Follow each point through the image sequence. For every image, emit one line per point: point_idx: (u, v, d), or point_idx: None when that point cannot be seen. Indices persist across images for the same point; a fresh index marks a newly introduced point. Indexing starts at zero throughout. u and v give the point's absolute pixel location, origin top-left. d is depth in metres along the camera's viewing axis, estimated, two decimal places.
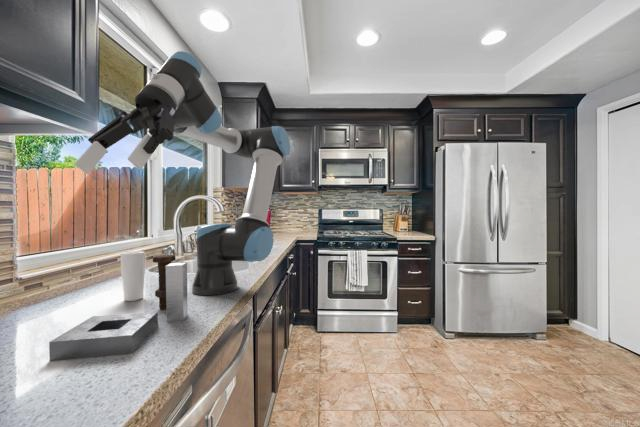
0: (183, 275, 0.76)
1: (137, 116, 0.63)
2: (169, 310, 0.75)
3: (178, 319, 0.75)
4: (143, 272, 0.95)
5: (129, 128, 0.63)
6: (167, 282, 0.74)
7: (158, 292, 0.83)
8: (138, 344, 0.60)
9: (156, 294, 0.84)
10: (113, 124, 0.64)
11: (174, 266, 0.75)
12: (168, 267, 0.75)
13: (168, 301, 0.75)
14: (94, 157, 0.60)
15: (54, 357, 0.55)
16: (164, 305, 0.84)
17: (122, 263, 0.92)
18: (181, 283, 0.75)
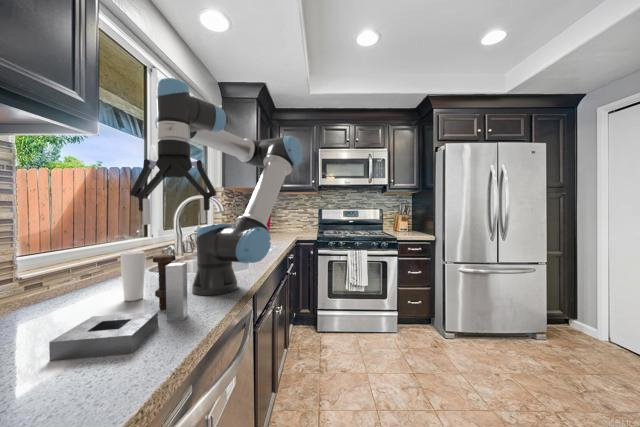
0: (183, 275, 0.76)
1: (170, 170, 0.75)
2: (169, 310, 0.75)
3: (178, 319, 0.75)
4: (143, 272, 0.95)
5: (162, 178, 0.76)
6: (167, 282, 0.74)
7: (158, 292, 0.83)
8: (138, 344, 0.60)
9: (156, 294, 0.84)
10: (145, 175, 0.75)
11: (174, 266, 0.75)
12: (168, 267, 0.75)
13: (168, 301, 0.75)
14: (148, 211, 0.76)
15: (54, 357, 0.55)
16: (164, 305, 0.84)
17: (122, 263, 0.92)
18: (181, 283, 0.75)
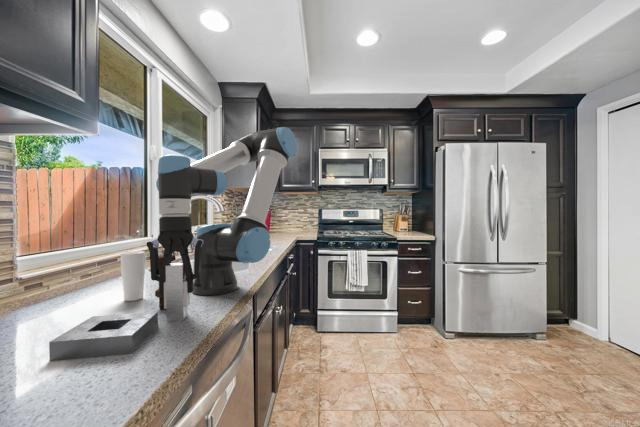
0: (183, 275, 0.76)
1: (172, 245, 0.76)
2: (169, 310, 0.75)
3: (178, 319, 0.75)
4: (143, 272, 0.95)
5: (170, 254, 0.77)
6: (167, 282, 0.74)
7: (158, 292, 0.83)
8: (138, 344, 0.60)
9: (156, 294, 0.84)
10: (155, 256, 0.75)
11: (174, 266, 0.75)
12: (168, 267, 0.75)
13: (168, 301, 0.75)
14: None
15: (54, 357, 0.55)
16: None
17: (122, 263, 0.92)
18: (181, 283, 0.75)
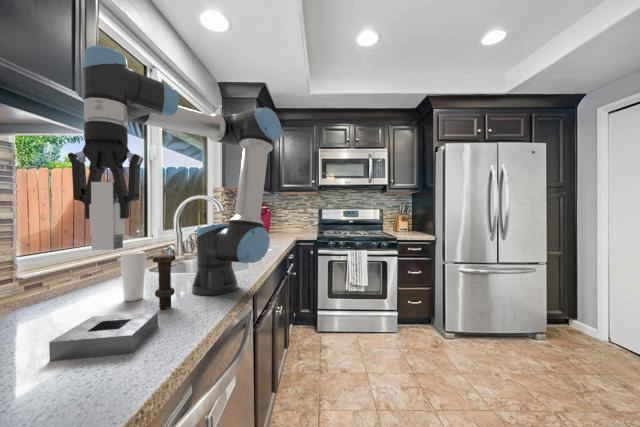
0: (114, 195, 0.62)
1: (100, 159, 0.62)
2: (95, 236, 0.61)
3: (107, 248, 0.61)
4: (143, 272, 0.95)
5: (100, 170, 0.63)
6: (93, 202, 0.61)
7: (158, 292, 0.83)
8: (138, 344, 0.60)
9: (156, 294, 0.84)
10: (79, 172, 0.61)
11: (102, 183, 0.61)
12: (94, 184, 0.61)
13: (94, 225, 0.61)
14: None
15: (54, 357, 0.55)
16: (164, 305, 0.84)
17: (122, 263, 0.92)
18: (111, 204, 0.61)
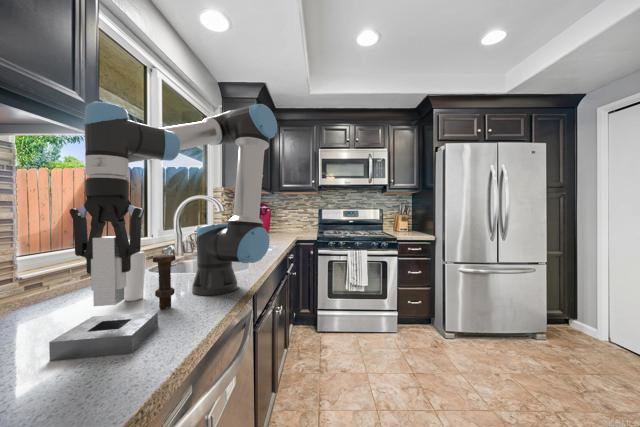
0: (116, 250, 0.62)
1: (102, 214, 0.62)
2: (97, 292, 0.61)
3: (108, 303, 0.61)
4: (143, 272, 0.95)
5: (102, 224, 0.63)
6: (94, 258, 0.61)
7: (158, 292, 0.83)
8: (138, 344, 0.60)
9: (156, 294, 0.84)
10: (81, 227, 0.61)
11: (103, 238, 0.61)
12: (96, 240, 0.61)
13: (96, 281, 0.61)
14: None
15: (54, 357, 0.55)
16: (164, 305, 0.84)
17: None
18: (112, 259, 0.61)
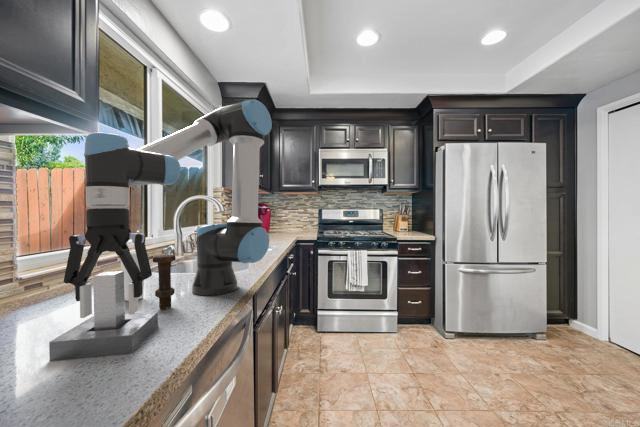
0: (116, 287, 0.62)
1: (102, 244, 0.62)
2: (98, 330, 0.61)
3: None
4: None
5: (98, 253, 0.63)
6: (95, 296, 0.61)
7: (158, 292, 0.83)
8: (138, 344, 0.60)
9: (156, 294, 0.84)
10: (76, 255, 0.61)
11: (104, 276, 0.61)
12: (96, 277, 0.61)
13: (97, 319, 0.61)
14: (88, 299, 0.63)
15: (54, 357, 0.55)
16: (164, 305, 0.84)
17: (122, 263, 0.92)
18: (113, 297, 0.61)
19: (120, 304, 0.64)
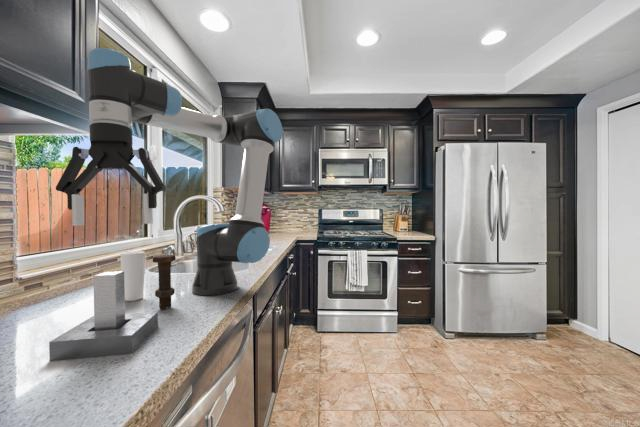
0: (117, 287, 0.62)
1: (106, 160, 0.63)
2: (98, 330, 0.61)
3: None
4: (143, 272, 0.95)
5: (97, 169, 0.64)
6: (95, 296, 0.61)
7: (158, 292, 0.83)
8: (138, 344, 0.60)
9: (156, 294, 0.84)
10: (74, 166, 0.62)
11: (104, 276, 0.61)
12: (97, 277, 0.61)
13: (97, 319, 0.61)
14: (80, 209, 0.63)
15: (54, 357, 0.55)
16: (164, 305, 0.84)
17: (122, 263, 0.92)
18: (113, 297, 0.61)
19: (120, 304, 0.64)
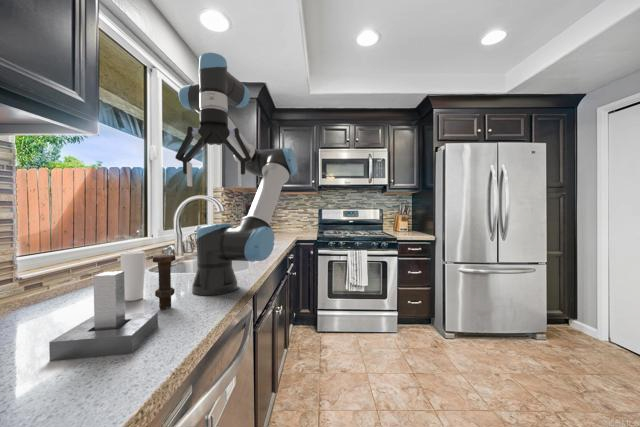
0: (117, 287, 0.62)
1: (211, 137, 0.83)
2: (98, 330, 0.61)
3: None
4: (143, 272, 0.95)
5: (203, 144, 0.84)
6: (95, 296, 0.61)
7: (158, 292, 0.83)
8: (138, 344, 0.60)
9: (156, 294, 0.84)
10: (188, 141, 0.82)
11: (104, 276, 0.61)
12: (97, 277, 0.61)
13: (97, 319, 0.61)
14: (191, 174, 0.83)
15: (54, 357, 0.55)
16: (164, 305, 0.84)
17: (122, 263, 0.92)
18: (113, 297, 0.61)
19: (120, 304, 0.64)
